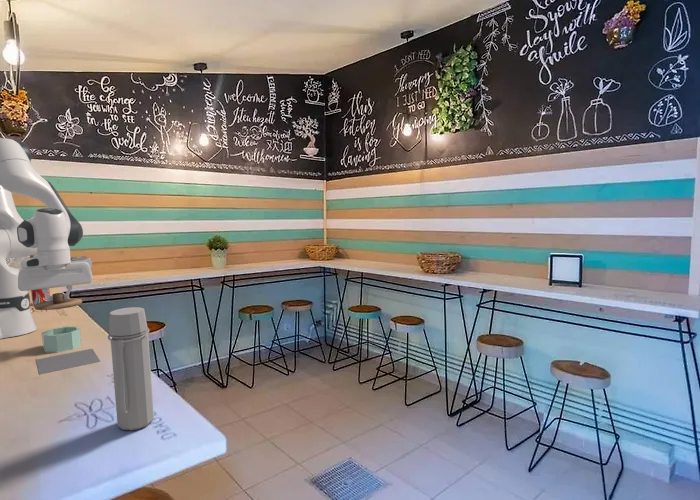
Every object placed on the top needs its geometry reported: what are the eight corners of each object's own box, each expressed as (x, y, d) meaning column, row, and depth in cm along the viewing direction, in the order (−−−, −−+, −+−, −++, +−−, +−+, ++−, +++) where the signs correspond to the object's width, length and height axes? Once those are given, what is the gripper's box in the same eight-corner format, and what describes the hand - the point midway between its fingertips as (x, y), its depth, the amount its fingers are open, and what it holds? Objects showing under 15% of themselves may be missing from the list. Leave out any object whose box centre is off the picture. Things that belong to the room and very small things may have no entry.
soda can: (41, 306, 204) (38, 281, 202) (28, 305, 205) (26, 280, 204) (54, 302, 211) (51, 278, 209) (42, 302, 212) (39, 278, 211)
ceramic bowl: (36, 353, 138) (34, 335, 138) (59, 343, 148) (57, 326, 148) (66, 353, 138) (65, 335, 137) (87, 343, 148) (85, 326, 147)
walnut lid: (24, 310, 135) (22, 298, 135) (54, 300, 148) (53, 290, 148) (64, 309, 135) (63, 298, 134) (90, 300, 148) (89, 289, 147)
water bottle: (124, 416, 97) (116, 307, 94) (160, 414, 97) (153, 306, 94) (105, 438, 88) (95, 318, 85) (145, 436, 88) (136, 317, 85)
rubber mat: (36, 361, 132) (35, 359, 132) (92, 350, 141) (92, 348, 141) (39, 376, 120) (39, 374, 120) (100, 362, 129) (100, 361, 129)
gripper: (89, 254, 149) (93, 294, 150) (15, 260, 136) (19, 303, 137) (92, 256, 144) (96, 297, 145) (15, 262, 131) (20, 307, 133)
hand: (58, 300), depth 141 cm, fingers closed on walnut lid, 3 cm apart
